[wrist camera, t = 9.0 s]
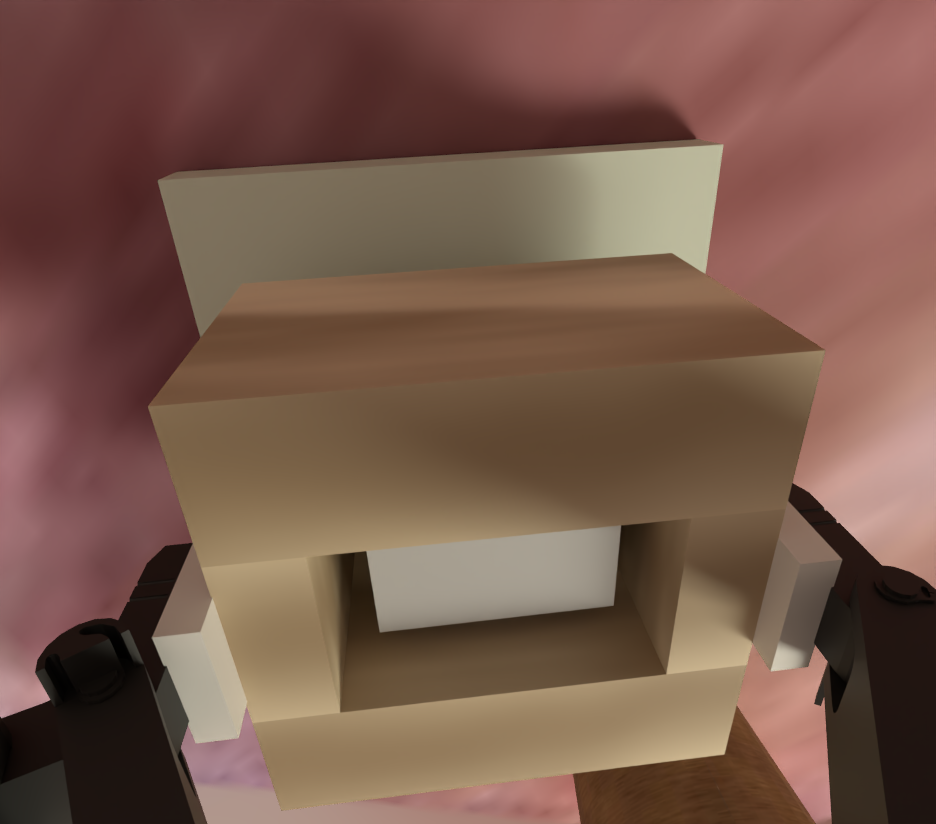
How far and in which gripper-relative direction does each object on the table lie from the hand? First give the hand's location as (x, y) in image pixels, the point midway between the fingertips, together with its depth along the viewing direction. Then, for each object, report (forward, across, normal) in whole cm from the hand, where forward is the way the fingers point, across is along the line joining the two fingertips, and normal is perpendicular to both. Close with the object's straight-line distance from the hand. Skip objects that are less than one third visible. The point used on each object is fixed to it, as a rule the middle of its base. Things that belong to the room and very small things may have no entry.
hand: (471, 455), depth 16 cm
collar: (0, 0, 0) cm, 0 cm away
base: (+4, 0, 0) cm, 4 cm away
